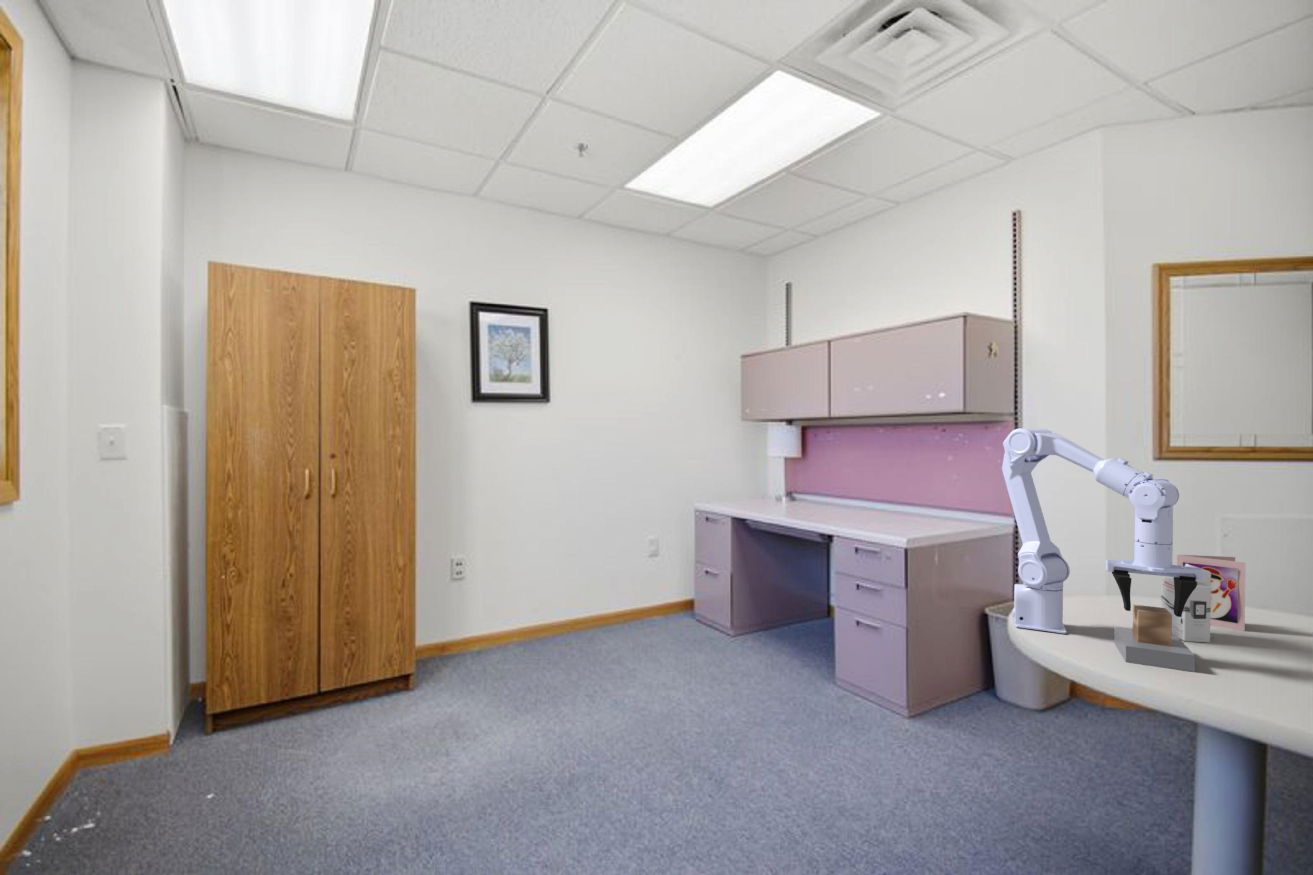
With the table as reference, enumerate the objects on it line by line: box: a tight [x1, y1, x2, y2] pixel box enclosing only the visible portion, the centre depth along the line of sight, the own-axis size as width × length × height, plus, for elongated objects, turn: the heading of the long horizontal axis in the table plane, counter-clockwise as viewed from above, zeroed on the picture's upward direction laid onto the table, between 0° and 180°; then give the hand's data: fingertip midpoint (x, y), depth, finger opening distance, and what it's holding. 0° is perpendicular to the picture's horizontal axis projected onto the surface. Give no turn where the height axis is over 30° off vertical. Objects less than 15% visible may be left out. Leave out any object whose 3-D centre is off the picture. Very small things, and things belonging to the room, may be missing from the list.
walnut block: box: [1132, 604, 1173, 647], centre depth 118 cm, size 5×5×6 cm
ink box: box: [1160, 564, 1211, 644], centre depth 130 cm, size 9×5×15 cm, turn 168°
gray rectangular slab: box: [1113, 627, 1196, 673], centre depth 117 cm, size 10×12×3 cm
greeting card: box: [1176, 554, 1246, 632], centre depth 139 cm, size 11×7×15 cm, turn 43°
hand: (1152, 612), depth 117 cm, fingers open, 7 cm apart
